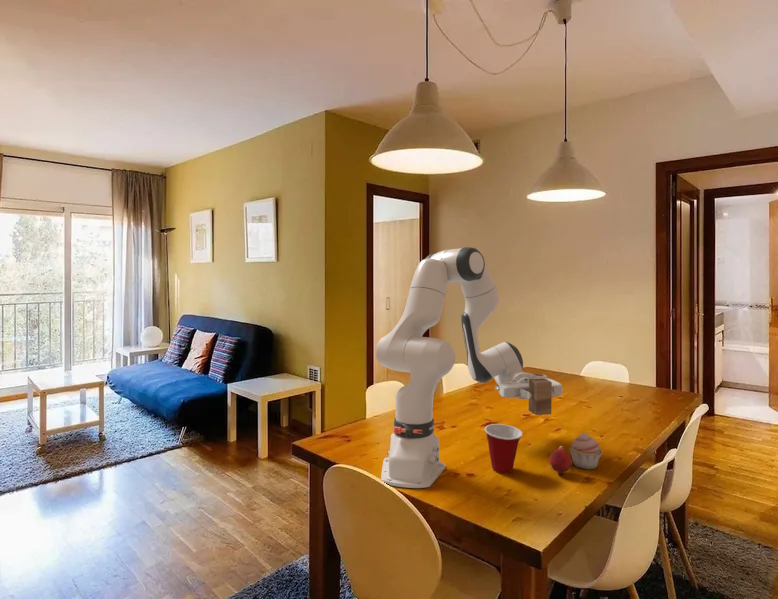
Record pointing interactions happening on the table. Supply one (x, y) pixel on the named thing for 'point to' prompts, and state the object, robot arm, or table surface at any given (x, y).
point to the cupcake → (585, 452)
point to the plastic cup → (502, 446)
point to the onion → (560, 460)
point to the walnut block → (540, 396)
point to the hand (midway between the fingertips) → (541, 395)
